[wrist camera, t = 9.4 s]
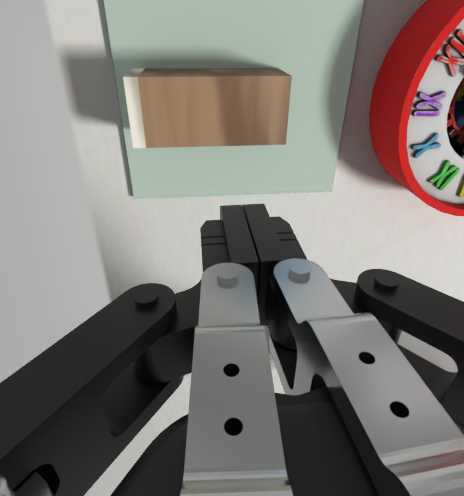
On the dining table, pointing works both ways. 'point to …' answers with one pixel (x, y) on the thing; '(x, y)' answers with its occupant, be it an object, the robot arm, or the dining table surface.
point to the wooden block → (207, 106)
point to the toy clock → (424, 106)
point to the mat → (242, 56)
